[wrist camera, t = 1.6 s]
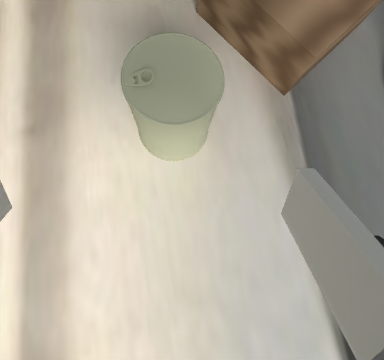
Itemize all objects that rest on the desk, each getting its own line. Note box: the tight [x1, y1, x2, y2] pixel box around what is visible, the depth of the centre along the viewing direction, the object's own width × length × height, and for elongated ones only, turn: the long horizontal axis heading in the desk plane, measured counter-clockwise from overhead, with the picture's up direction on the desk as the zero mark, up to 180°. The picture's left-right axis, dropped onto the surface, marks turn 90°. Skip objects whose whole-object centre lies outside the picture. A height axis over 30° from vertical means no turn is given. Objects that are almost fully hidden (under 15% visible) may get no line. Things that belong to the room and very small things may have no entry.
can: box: [121, 33, 224, 161], centre depth 27 cm, size 9×9×12 cm
